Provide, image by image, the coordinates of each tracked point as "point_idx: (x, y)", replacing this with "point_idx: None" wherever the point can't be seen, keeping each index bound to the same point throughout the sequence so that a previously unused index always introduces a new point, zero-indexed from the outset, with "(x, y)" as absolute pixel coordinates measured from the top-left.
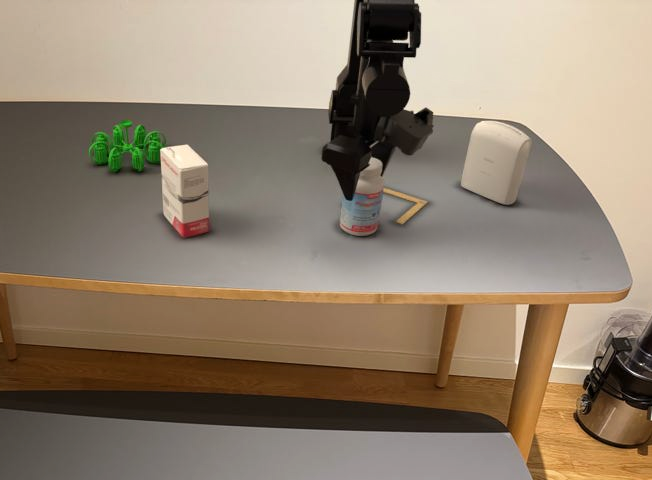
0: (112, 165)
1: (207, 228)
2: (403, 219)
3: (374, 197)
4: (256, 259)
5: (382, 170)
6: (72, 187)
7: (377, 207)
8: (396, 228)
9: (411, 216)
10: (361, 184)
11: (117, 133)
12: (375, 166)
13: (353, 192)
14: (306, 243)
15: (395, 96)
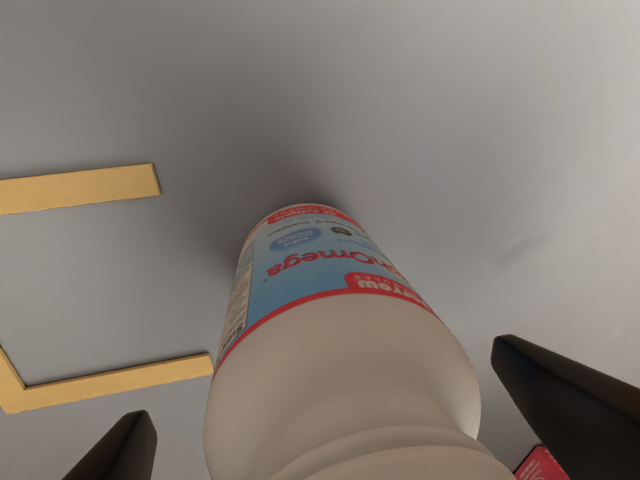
0: None
1: (548, 454)
2: (116, 181)
3: (389, 281)
4: (593, 326)
5: (110, 477)
6: None
7: (331, 241)
8: (197, 163)
9: (56, 173)
10: (479, 409)
11: None
12: None
13: (586, 369)
14: (475, 302)
15: None
